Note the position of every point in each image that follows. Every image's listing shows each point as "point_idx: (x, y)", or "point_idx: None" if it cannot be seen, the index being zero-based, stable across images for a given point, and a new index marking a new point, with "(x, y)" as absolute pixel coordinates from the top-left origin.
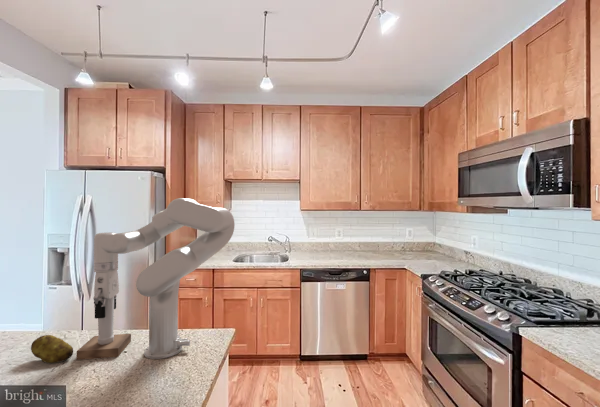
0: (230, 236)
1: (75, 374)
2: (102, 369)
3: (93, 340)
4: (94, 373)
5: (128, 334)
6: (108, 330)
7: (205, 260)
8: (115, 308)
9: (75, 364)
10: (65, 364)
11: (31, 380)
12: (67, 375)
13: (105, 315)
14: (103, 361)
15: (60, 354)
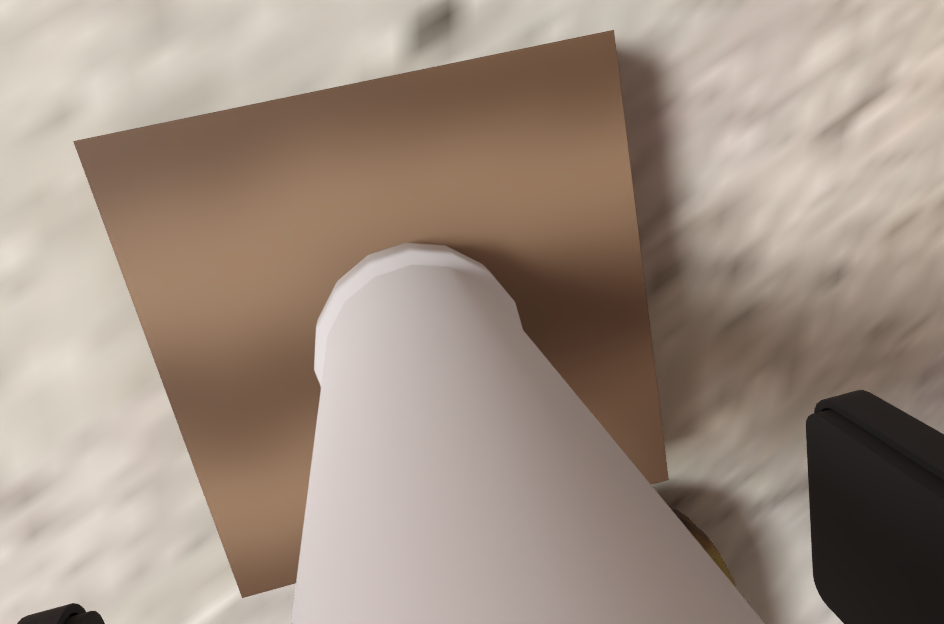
0: None
1: (896, 247)
2: (843, 43)
3: None
4: (908, 76)
5: (120, 161)
6: (508, 314)
7: None
8: (71, 606)
9: (712, 383)
10: (704, 469)
11: None
12: (901, 304)
13: (655, 490)
14: (674, 147)
15: (728, 574)
